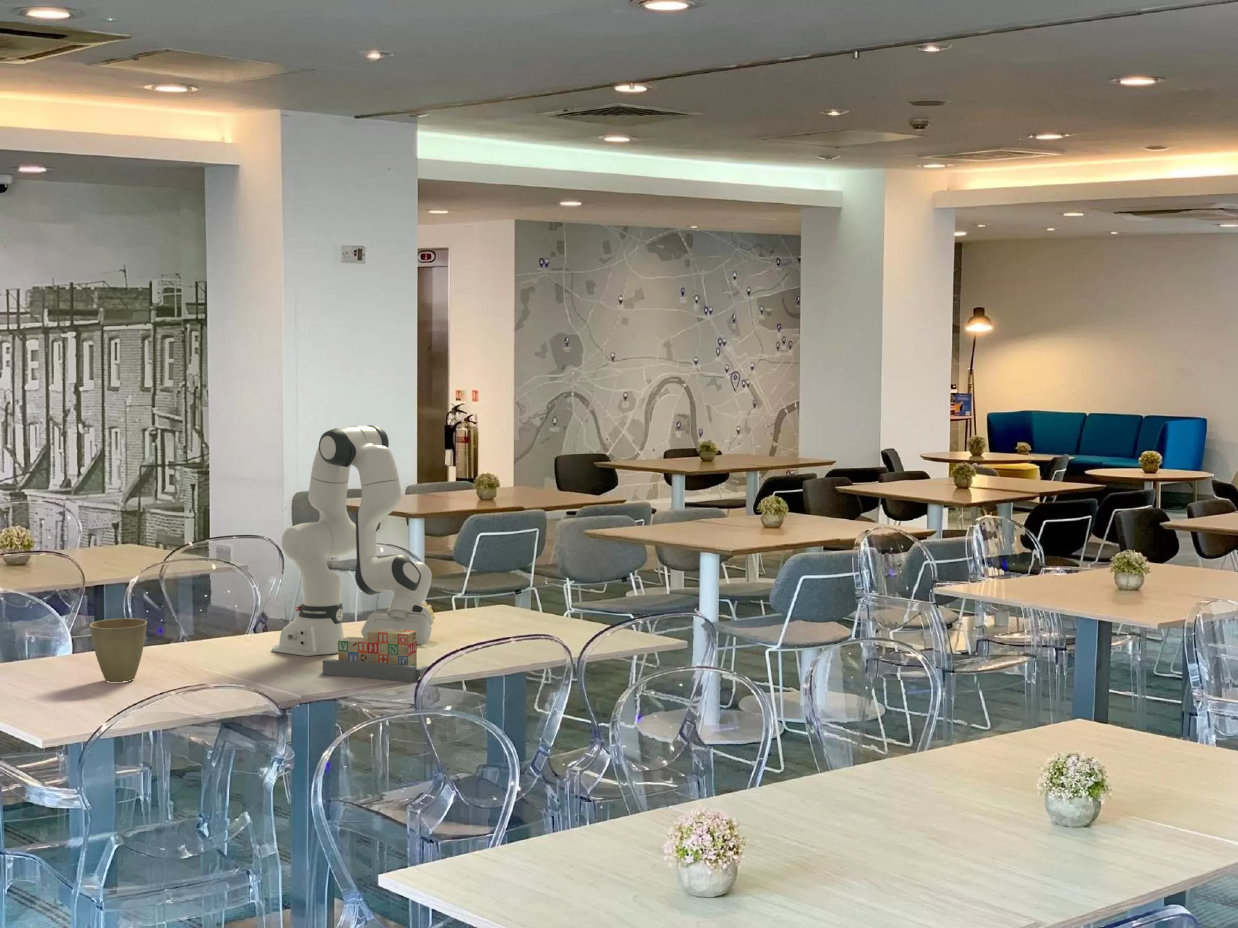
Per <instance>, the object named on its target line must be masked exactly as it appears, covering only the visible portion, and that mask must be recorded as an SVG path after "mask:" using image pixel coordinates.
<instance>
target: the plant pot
mask: <svg viewBox="0 0 1238 928" xmlns="http://www.w3.org/2000/svg"><path fill="white" fill-rule="evenodd" d="M147 625H148V621H147V620H146V619H145V620H144V619H142V618H141V619H140V618H132V617H131V618H129V617H127V618H122V617H121V618H110V619H102V620H97V621H94V622H92V623H90V624H89V630H90V635H91V642H92V645H93V650H94V653H95V656H96V659H97V663H98V666H99V669H100V671H101V673H102V675H103V678H104V680H105V682H106V681H109V682H123V681H129V680H132V679H134V680H135V678H136V675H137V672H138V670H139V666H140V663H141V659H142V655H143V650H144V648H145V647H144V646H145V640H146V633H147Z"/></svg>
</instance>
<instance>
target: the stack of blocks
mask: <svg viewBox="0 0 1238 928" xmlns="http://www.w3.org/2000/svg"><path fill="white" fill-rule="evenodd" d="M417 646H418V644H417V631H416V630H406V629H388V628H387V629H386V628H375V629H373V630H371V631H368V638H364V637H363V636H361V637H356V636H344V638H343V639H341V640H338V653H337V655H338V657H337V658H338V659H337V660H346V661H358V662H371V663H384V664H397V665H410V666H416V669H418V668H417V667H418V666H417V659H418V658H417V656H418V654H417V650H418V647H417Z"/></svg>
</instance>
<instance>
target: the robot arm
mask: <svg viewBox="0 0 1238 928" xmlns="http://www.w3.org/2000/svg"><path fill="white" fill-rule="evenodd" d="M389 445H390V441H389V437H388V434H387V432H386V431H385V430H384V429H383V428H381V427H379V426H376V425H371V424H370V425H350V426H345V427H341V428H337V427H336V428H332V429H329V430H327V431H326V432H323V433H322V435H321V436H320V438H319V442H318V447H317V450H316V453H315V455H314V460H313V463H312V468H311V472H310V480H309V489H308V495H307V497H308V498H307V499H308V502H309V503H310V505H311V507H313V508H314V509H315V510H317V511H318V512H319V513H318V514H319V520H318V521H313V522H302V523H298V524H296V525H292V526H290V527H287V528H286V529H285V531H284V532H283V534H282V537H281V547H282V548H281V549H282V550H283V552H284V554H285V555H286V556H287V557H288V558H289V559H290V560H292V561H293V562H294V564H295V565H296V567H297V568H298V571H299V573H300V576H301V579H302V592H303V593H302V594H303V604H300V605H299V606H297V607H295V611H296V612H298V611H299V613H298V616H297V617H296V618H294V619H293V620H292V621H291V622H290V623H288V624H286V626H284V627H283V628H282V630H281V632H280V636H279V640H278V641H279V642H278V643H277V644H275V645H274V646H272V648H271V652H274V653H275V652H276V653H284V654H289V655H290V654H291V655H298V656H304V657H311V656H318V655H319V656H320V655H330V654H331V655H332V654H338V640H341V639H343V638H345V635H344V628H343V615H344V614H343V613H344V609H343V608H344V607H343V606H344V605H343V603H342V588H341V587H342V586H341V585H342V583H341V582H342V581H341V577H340V576H339V575H338V573H336V572H334V570H331V569H330V568H329V567H328V563H327V558H332V557H341V556H344V555H346V554H349V553H350V554H351V552H352V553H353V552H354V551H356V565H355V573H354V578H355V579H354V581H355V583H356V585H357V586H358V588H359V589H360V591H361V592H363V593H364V594H365V595H370V596H373V595H377V594H380V593H383V592H389V591H392V592H393V594H394V596H393V597H392V599H391V602H390V605H389V607H388V609H387V611H380V610H379V611H378V610H377V611H375V612H371V613H370V614H369V615H368V617H367V620H366V621H365V623H364V625H362V628H361V630H360V632H361V636H362V638H368V631H371V630H373V629H375V628H386V629H387V628H388V629H406V630H416V631H417V645H425V644H427V643H428V641H429V639H430V638H431V634H432V625H433V624H434V619H433V617H432V615H431V613H430V612H429V610H428V609H427V608H426V607H425V606H423V603H424V602H425V600H426V598H427V596H428V594H429V591H430V588H431V584H432V578H433V577H432V575H433V574H432V571H431V568H430V567H429V566H428V565H426V564H425V563H424V562H421V561H417V560H415V561H413V560H411V559H410V558H409V557H408V556H406V555H403V554H397V555H396V554H395V555H390V556H386V557H380V558H378V557H377V528H378V526H379V524H380V522H381V521H383V519H384V518H385V517H387V516H389V515H390V514H391V513H393V511H395V509H397V506H398V505H399V504H400V502H401V497H402V489H401V483H400V476H399V472H398V468H397V465H396V461H395V459H394V454H393V452H392V450H391V449H390V448H389ZM352 466H354V468H356V470H358V474H359V482H360V487H361V499H360V504H359V507H358V508H357V510H356V513H355V522H353V521H352V520H351V518H350V516H349V514H348V510H347V508H348V507H347V497H348V496H347V494H348V487H349V478H350V470H351V467H352Z"/></svg>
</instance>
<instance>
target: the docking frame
mask: <svg viewBox="0 0 1238 928" xmlns="http://www.w3.org/2000/svg"><path fill="white" fill-rule="evenodd" d="M428 667H429V666H428V665H426V666H425V665H423V666H420V667H418V668H417V669H416V666H410V665H397V664H384V663H371V662H358V661H346V660H338V659H337V658H326V659H323V660H322V675H324V676H334V677H335V676H336V677H346V678H347V677H349V678H360V679H361V678H362V679H372V680H383V681H384V680H385V681H386V680H387V681H397V682H409V683H410V682H411V683H413V682H416V681H417V680H418V679H419V677H421V675H422V674H423V673H424V671H425V670H427V668H428ZM429 668H430V667H429Z"/></svg>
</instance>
